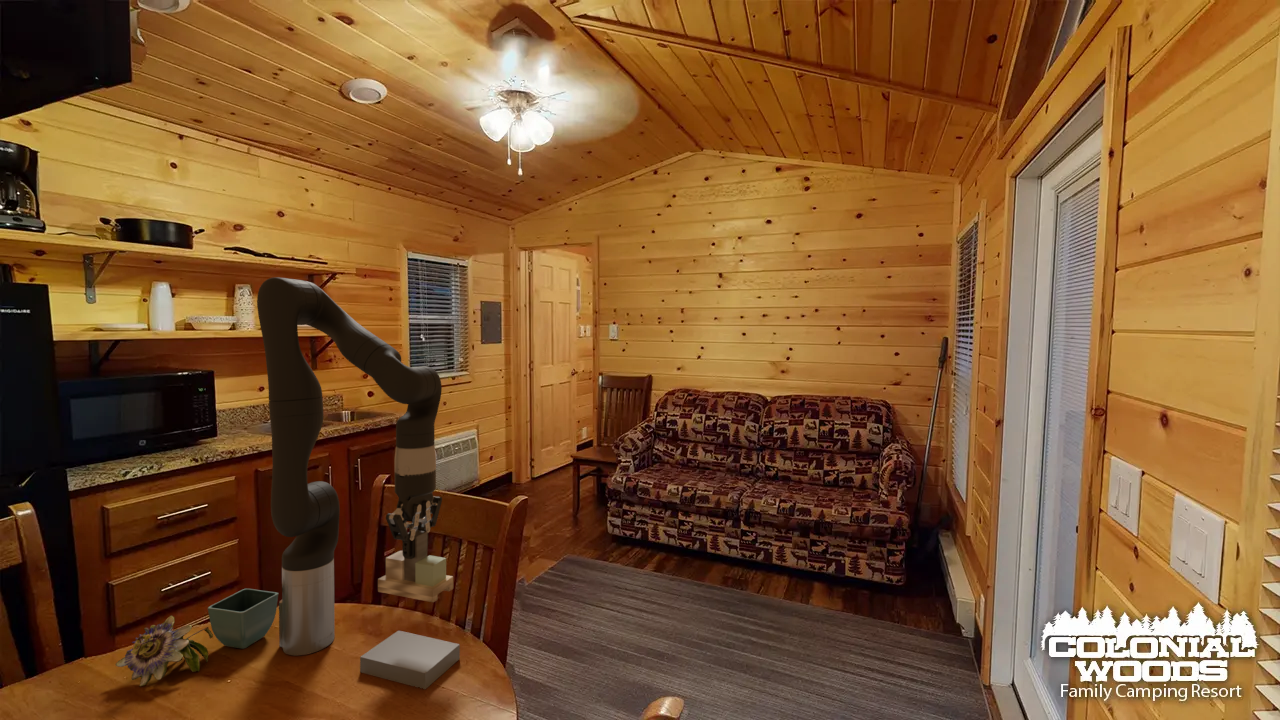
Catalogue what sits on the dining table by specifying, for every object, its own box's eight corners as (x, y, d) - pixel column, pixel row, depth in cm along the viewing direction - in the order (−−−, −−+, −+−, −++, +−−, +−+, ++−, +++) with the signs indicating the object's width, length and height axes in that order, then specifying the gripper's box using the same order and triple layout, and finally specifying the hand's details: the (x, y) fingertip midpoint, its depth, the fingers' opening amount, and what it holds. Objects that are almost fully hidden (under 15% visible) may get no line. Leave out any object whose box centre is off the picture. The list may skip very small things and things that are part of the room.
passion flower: (146, 712, 100) (94, 669, 97) (186, 666, 111) (141, 626, 108) (197, 679, 100) (146, 635, 97) (232, 636, 110) (188, 595, 107)
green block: (415, 583, 106) (415, 563, 106) (429, 574, 110) (429, 555, 110) (432, 586, 105) (432, 566, 105) (446, 577, 109) (446, 558, 109)
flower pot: (243, 656, 109) (242, 612, 108) (206, 650, 111) (205, 607, 110) (280, 633, 117) (279, 592, 117) (246, 628, 119) (245, 587, 119)
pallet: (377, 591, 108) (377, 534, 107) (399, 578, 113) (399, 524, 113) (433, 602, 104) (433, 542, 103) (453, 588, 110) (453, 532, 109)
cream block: (385, 577, 108) (385, 557, 108) (400, 569, 112) (400, 550, 112) (402, 580, 107) (402, 560, 107) (416, 572, 111) (416, 553, 111)
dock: (360, 672, 104) (360, 656, 104) (398, 644, 114) (398, 630, 114) (425, 689, 100) (425, 673, 100) (459, 658, 109) (459, 644, 109)
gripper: (423, 459, 115) (423, 539, 116) (372, 474, 102) (373, 566, 103) (454, 462, 113) (453, 544, 114) (405, 478, 100) (405, 571, 100)
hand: (415, 554), depth 108 cm, fingers closed on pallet, 3 cm apart
